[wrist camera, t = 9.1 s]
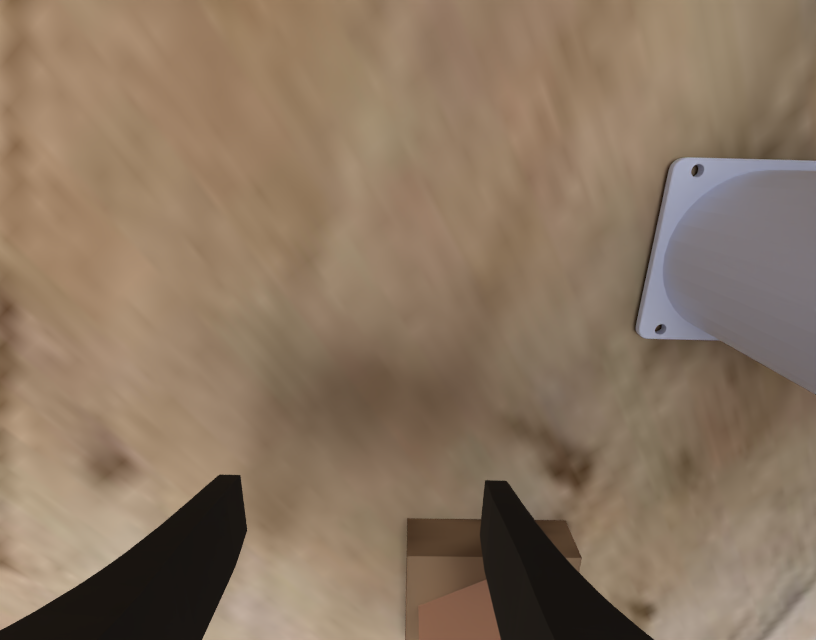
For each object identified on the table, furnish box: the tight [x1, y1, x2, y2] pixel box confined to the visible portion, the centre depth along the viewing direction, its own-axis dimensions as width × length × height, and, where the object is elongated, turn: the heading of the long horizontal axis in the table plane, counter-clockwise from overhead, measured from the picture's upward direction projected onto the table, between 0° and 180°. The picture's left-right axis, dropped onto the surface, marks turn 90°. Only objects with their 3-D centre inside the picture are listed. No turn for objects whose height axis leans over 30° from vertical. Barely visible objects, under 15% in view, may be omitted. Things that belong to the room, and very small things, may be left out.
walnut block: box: [405, 519, 582, 640], centre depth 26 cm, size 9×9×3 cm
